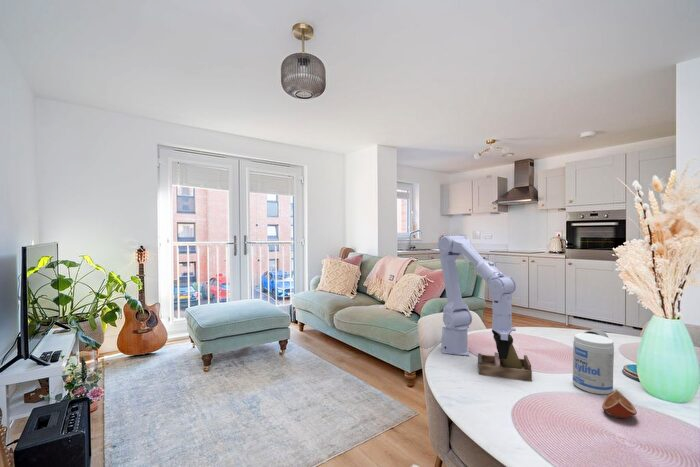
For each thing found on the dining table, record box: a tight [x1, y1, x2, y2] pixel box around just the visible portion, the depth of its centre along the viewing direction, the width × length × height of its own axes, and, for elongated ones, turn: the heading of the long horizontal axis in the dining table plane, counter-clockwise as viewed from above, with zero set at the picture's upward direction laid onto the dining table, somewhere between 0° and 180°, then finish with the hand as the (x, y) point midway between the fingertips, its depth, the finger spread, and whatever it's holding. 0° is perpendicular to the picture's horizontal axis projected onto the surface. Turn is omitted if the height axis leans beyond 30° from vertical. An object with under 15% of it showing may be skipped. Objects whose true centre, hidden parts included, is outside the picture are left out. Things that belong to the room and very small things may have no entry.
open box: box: [477, 352, 533, 382], centre depth 109 cm, size 15×10×5 cm, turn 71°
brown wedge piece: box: [601, 389, 638, 419], centre depth 83 cm, size 8×7×5 cm
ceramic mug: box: [583, 328, 609, 338], centre depth 130 cm, size 11×8×8 cm
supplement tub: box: [572, 332, 615, 395], centre depth 97 cm, size 10×10×15 cm
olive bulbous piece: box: [497, 333, 523, 369], centre depth 109 cm, size 6×6×11 cm
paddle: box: [494, 352, 500, 367], centre depth 110 cm, size 1×8×4 cm, turn 161°
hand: (501, 355), depth 109 cm, fingers closed on olive bulbous piece, 5 cm apart
